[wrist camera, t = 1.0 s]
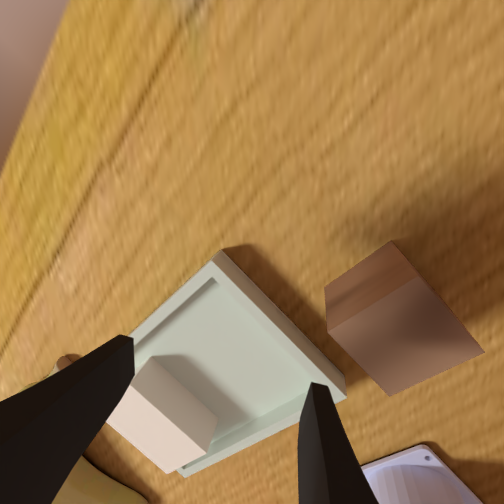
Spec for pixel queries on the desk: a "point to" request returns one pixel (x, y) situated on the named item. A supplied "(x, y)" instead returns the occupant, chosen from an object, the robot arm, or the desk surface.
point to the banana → (90, 477)
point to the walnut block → (395, 322)
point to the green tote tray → (234, 357)
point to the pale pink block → (163, 418)
